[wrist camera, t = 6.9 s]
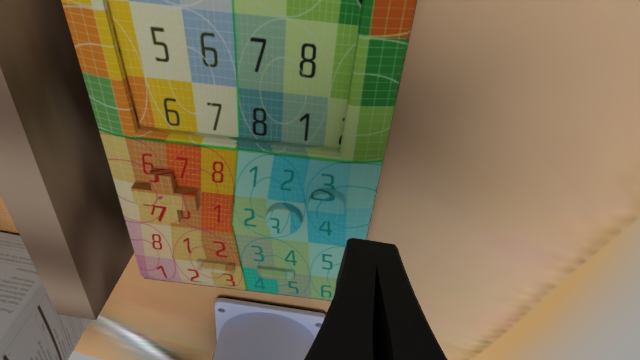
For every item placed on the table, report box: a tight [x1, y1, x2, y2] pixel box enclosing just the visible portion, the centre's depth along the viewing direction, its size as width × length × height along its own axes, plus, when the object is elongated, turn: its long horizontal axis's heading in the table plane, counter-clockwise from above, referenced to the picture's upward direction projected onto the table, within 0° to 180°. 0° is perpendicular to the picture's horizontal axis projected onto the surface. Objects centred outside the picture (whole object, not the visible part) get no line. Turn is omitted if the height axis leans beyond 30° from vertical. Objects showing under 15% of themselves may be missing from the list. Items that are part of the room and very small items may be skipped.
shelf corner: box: [0, 0, 134, 320], centre depth 16 cm, size 25×12×7 cm, turn 173°
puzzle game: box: [61, 0, 417, 301], centre depth 18 cm, size 12×5×20 cm
